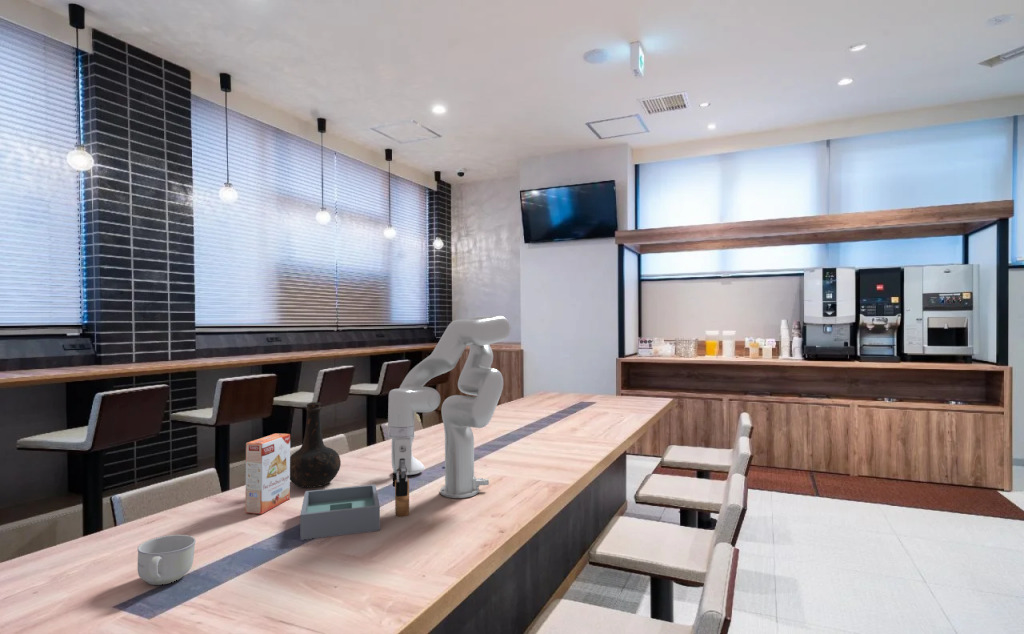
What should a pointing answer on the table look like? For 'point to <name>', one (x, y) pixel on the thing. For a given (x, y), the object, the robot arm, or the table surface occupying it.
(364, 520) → the bore box
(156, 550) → the teacup
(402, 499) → the peg
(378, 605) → the table surface
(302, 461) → the dark brown vase
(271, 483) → the cracker box
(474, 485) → the robot arm
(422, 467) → the flower in vase
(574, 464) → the table surface
